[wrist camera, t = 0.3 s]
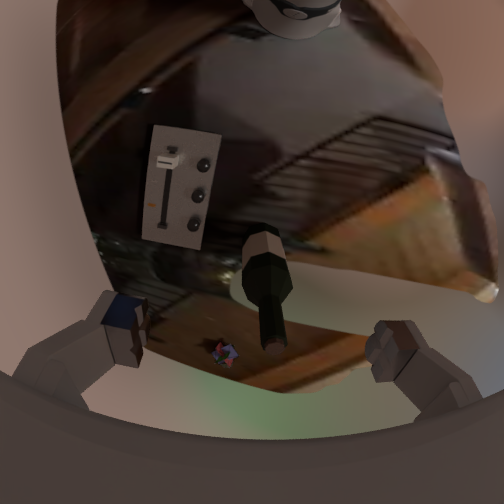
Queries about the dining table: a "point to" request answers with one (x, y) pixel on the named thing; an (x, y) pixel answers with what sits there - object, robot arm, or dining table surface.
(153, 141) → the console
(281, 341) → the wine bottle
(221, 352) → the geometric puzzle
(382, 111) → the dining table surface
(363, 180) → the dining table surface
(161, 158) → the fader
